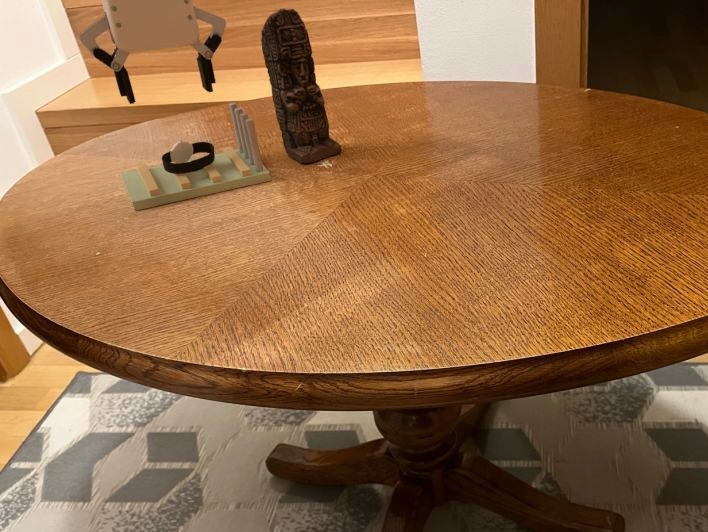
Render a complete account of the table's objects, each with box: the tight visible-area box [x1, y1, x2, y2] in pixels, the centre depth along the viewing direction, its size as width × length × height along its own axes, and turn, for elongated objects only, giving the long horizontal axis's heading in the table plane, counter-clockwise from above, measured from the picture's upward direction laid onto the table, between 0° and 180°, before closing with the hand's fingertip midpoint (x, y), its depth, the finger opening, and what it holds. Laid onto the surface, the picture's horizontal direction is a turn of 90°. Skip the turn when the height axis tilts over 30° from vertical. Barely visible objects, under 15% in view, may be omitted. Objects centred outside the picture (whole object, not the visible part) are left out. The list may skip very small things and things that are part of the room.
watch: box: [161, 139, 216, 174], centre depth 99 cm, size 8×5×4 cm, turn 143°
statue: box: [260, 8, 342, 164], centre depth 103 cm, size 7×7×20 cm
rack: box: [119, 102, 272, 212], centre depth 99 cm, size 18×12×8 cm, turn 118°
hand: (170, 95), depth 95 cm, fingers open, 9 cm apart
